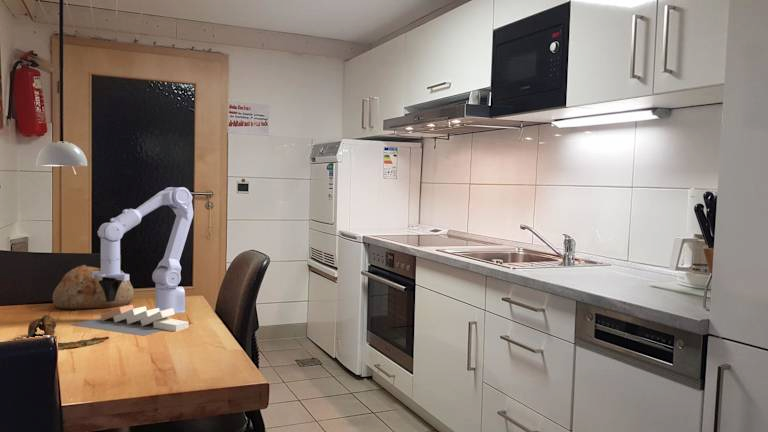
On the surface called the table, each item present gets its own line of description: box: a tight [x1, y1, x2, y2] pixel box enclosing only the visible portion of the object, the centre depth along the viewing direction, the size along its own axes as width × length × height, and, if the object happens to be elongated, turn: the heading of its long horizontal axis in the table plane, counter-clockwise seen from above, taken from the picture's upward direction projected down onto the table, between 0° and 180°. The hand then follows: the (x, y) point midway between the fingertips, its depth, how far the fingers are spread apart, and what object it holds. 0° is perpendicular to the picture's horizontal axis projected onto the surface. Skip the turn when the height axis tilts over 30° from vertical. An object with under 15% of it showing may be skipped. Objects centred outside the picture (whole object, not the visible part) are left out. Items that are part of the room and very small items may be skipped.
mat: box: [70, 317, 165, 337], centre depth 179 cm, size 31×16×1 cm, turn 66°
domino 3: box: [126, 308, 160, 324], centre depth 180 cm, size 2×5×9 cm
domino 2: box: [113, 305, 148, 323], centre depth 182 cm, size 2×5×9 cm
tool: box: [25, 314, 110, 351], centre depth 156 cm, size 23×6×30 cm
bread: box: [52, 264, 135, 310], centre depth 211 cm, size 26×23×15 cm
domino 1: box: [100, 304, 135, 321], centre depth 184 cm, size 2×5×9 cm
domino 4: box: [140, 308, 176, 326], centre depth 177 cm, size 2×5×9 cm
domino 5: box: [153, 317, 190, 332], centre depth 175 cm, size 2×5×9 cm
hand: (110, 301), depth 185 cm, fingers closed
